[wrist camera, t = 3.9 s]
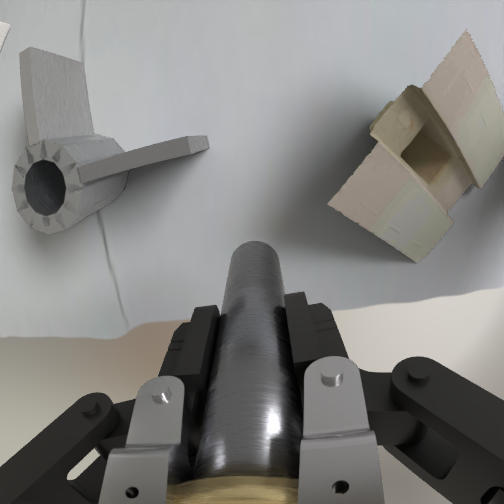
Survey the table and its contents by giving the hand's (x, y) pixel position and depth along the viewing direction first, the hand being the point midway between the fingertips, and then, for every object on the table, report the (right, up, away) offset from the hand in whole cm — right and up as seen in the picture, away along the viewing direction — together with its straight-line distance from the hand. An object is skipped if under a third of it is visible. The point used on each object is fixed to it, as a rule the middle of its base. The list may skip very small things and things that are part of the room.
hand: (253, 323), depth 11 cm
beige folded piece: (+15, +11, +13) cm, 22 cm away
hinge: (-10, +13, +11) cm, 20 cm away
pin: (0, +2, +5) cm, 5 cm away
